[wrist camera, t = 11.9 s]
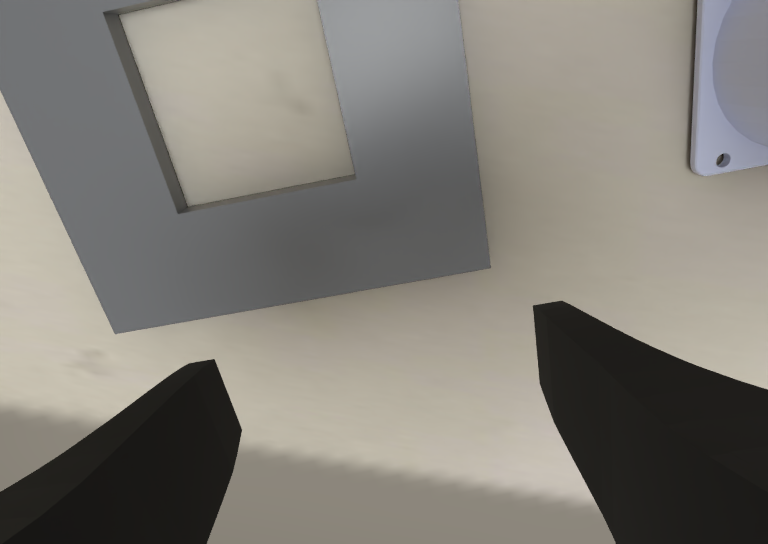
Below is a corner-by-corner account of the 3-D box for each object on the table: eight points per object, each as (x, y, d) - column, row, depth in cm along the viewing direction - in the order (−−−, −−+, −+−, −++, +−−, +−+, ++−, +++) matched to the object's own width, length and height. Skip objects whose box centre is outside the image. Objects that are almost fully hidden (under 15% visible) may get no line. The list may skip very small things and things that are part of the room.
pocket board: (424, -241, 14) (426, -261, 14) (486, 258, 21) (490, 267, 20) (-71, -110, 16) (-99, -121, 15) (126, 322, 22) (115, 334, 21)
